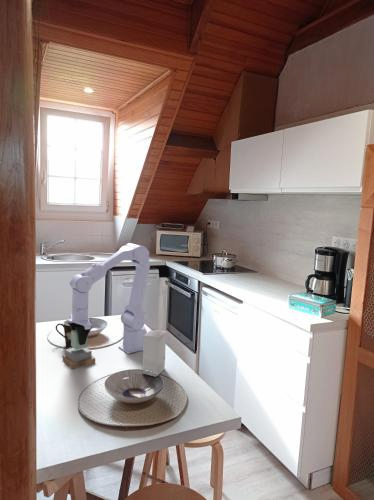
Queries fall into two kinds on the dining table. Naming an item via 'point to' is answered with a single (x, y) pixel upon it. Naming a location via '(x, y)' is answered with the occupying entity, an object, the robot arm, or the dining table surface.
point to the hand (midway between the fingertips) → (79, 342)
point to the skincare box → (154, 351)
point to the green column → (75, 341)
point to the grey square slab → (78, 354)
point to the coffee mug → (66, 333)
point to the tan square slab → (79, 362)
